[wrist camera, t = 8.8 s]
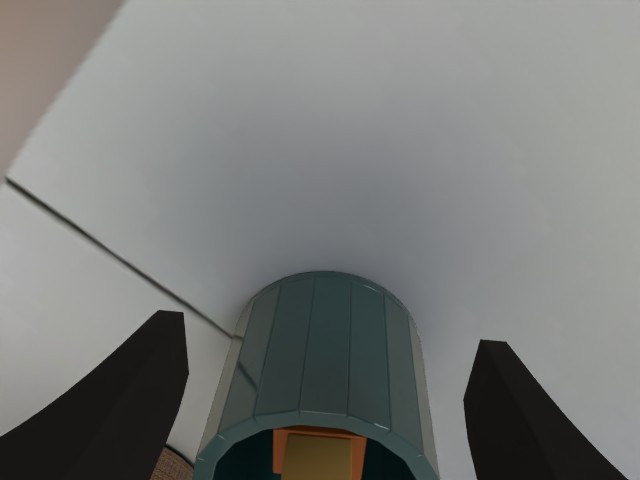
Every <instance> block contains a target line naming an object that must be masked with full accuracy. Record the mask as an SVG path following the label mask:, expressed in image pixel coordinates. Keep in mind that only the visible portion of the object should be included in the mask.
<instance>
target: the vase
mask: <svg viewBox="0 0 640 480" xmlns="http://www.w3.org/2000/svg"><path fill="white" fill-rule="evenodd" d="M193 471H194V469H193V468H192V467H191V465H190V464H189V463H188V462H187V461H185V460H184V459H183V458H182V457H181V456H179V455H178V454H176V453H175V452H173V451H172V450H170V449H168V448H167V447H165V446H164V448H163V450H162V452H161V455H160V457H159V460H158V462H157V464H156V467H155V469H154V471H153V474H152V476H151V479H150V480H192V477H193Z"/></svg>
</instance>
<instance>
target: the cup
mask: <svg viewBox="0 0 640 480" xmlns="http://www.w3.org/2000/svg"><path fill="white" fill-rule="evenodd" d="M296 425H306V426H317V427H327V428H337V429H344V430H347V431H350V432H353V433H356V434H358V435H361V436H364V437H367V442H366V449H365V456H364V463H363V470H362V476H361V480H440V478H439V470H438V463H437V456H436V449H435V442H434V434H433V427H432V420H431V413H430V406H429V399H428V391H427V384H426V377H425V370H424V363H423V355H422V348H421V341H420V337H419V335H418V331H417V327H416V325H415V322H414V320H413V318H412V316H411V315H410V313H409V312H408V310H407V309H406V308H405V306H404V305H403V304H402V303H401V302H400V301H399V300H398V299H397V298H396V297H395V296H394V295H392V294H391V293H390V292H388V291H387V290H385V289H384V288H382V287H381V286H379V285H377V284H375V283H373V282H371V281H368V280H366V279H363V278H361V277H357V276H354V275H350V274H345V273H338V272H323V271H320V272H308V273H302V274H297V275H293V276H290V277H287V278H284V279H281V280H279V281H277V282H275V283H273V284H271V285H270V286H268V287H266V288H265V289H263V290H262V291H261V292H260V293H258V294H257V295H256V296H255V297H254V298H253V299H252V300H251V301H250V302H249V303H248V305H247V306H246V308H245V309H244V311H243V313H242V315H241V317H240V320H239V321H238V323H237V326H236V329H235V333H234V336H233V339H232V342H231V346H230V349H229V352H228V355H227V359H226V362H225V365H224V368H223V372H222V375H221V378H220V381H219V385H218V388H217V391H216V394H215V398H214V401H213V404H212V407H211V411H210V414H209V417H208V420H207V424H206V427H205V430H204V433H203V437H202V440H201V443H200V446H199V450H198V453H197V456H196V461H195V466H194V471H193V477H192V480H281V476H282V474H279V473H274V472H273V429H275V428H282V427H289V426H296Z"/></svg>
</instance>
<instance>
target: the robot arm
mask: <svg viewBox="0 0 640 480" xmlns="http://www.w3.org/2000/svg"><path fill="white" fill-rule="evenodd" d="M188 375H189V369H188V358H187V347H186V335H185V324H184V313H183V312H174V311H163V310H158V311H157V312H156V313H155V314H153V315H152V316H151V317H150V318H149V319H148V320H147V321H146V322H145V323H144V324H143V325H142V326H141V327H140V328H139V329H138V330H137V331H135V332H134V333H133V334H132V335H131V336H130V337H129V338H128V339H127V340H126V341H125V342H124V343H123V344H122V345H121V346H119V347H118V348H117V349H116V350H115V351H114V352H113V353H112V354H110V355H109V356H108V357H107V358H106V359H105V360H104V361H103V362H101V363H100V364H99V365H98V366H97V367H96V368H95V369H93V370H92V371H91V372H90V373H89V374H87V375H86V376H85V377H84V378H83V379H81V380H80V381H79V382H78V383H76V384H75V385H74V386H73V387H71V388H70V389H69V390H68V391H66V392H65V393H64V394H63V395H61V396H60V397H59V398H57V399H56V400H55V401H53V402H52V403H51V404H49V405H48V406H47V407H45V408H44V409H42V410H41V411H40V412H38V413H37V414H35V415H34V416H32V417H31V418H29V419H28V420H27V421H25V422H24V423H22V424H20V425H19V426H17V427H16V428H14V429H12V430H11V431H9V432H8V433H6V434H4V435H3V436H1V437H0V480H150V479H151V476H152V474H153V471H154V469H155V467H156V464H157V462H158V460H159V457H160V455H161V452H162V450H163V448H164V445H165V443H166V441H167V438H168V436H169V433H170V431H171V428H172V426H173V424H174V421H175V419H176V416H177V414H178V411H179V408H180V404H181V401H182V397H183V394H184V390H185V386H186V383H187V379H188ZM463 401H464V411H465V421H466V429H467V437H468V442H469V447H470V451H471V455H472V459H473V464H474V468H475V472H476V476H477V480H628V479H627V478H626V477H625V476H624V475H623V474H622V473H621V472H619V471H618V470H617V469H616V468H615V467H614V466H613V465H612V464H611V463H610V462H609V461H608V460H607V459H606V458H605V457H604V456H603V455H602V454H601V453H600V452H599V451H598V450H597V449H596V448H595V447H594V446H593V445H592V444H591V443H590V442H589V441H588V440H587V439H586V438H585V436H584V435H583V434H582V433H581V432H580V431H579V430H578V429H577V428H576V427H575V426H574V425H573V423H572V422H571V421H570V420H569V419H568V418H567V417H566V416H565V414H564V413H563V412H562V411H561V410H560V408H559V407H558V406H557V405H556V404H555V403H554V401H553V400H552V399H551V398H550V397H549V395H548V394H547V393H546V392H545V390H544V389H543V388H542V387H541V385H540V384H539V383H538V382H537V380H536V379H535V378H534V377H533V375H532V374H531V373H530V372H529V370H528V369H527V368H526V366H525V365H524V364H523V363H522V361H521V360H520V359H519V357H518V356H517V355H516V354H515V352H514V351H513V350H512V349H511V347H510V346H509V345H508V344H507V342H503V341H492V340H481V339H480V343H479V346H478V350H477V353H476V357H475V360H474V364H473V367H472V371H471V374H470V378H469V381H468V385H467V388H466V392H465V395H464V399H463Z"/></svg>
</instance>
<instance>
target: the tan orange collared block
mask: <svg viewBox="0 0 640 480" xmlns="http://www.w3.org/2000/svg"><path fill="white" fill-rule="evenodd" d="M366 442H367V437H364V436H361V435H358V434H356V433H353V432H350V431H347V430H344V429H337V428H327V427H317V426H306V425H296V426H289V427H282V428H275V429H273V472H274V473H279V474H282V476H281V480H361V476H362V470H363V463H364V456H365V449H366Z"/></svg>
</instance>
